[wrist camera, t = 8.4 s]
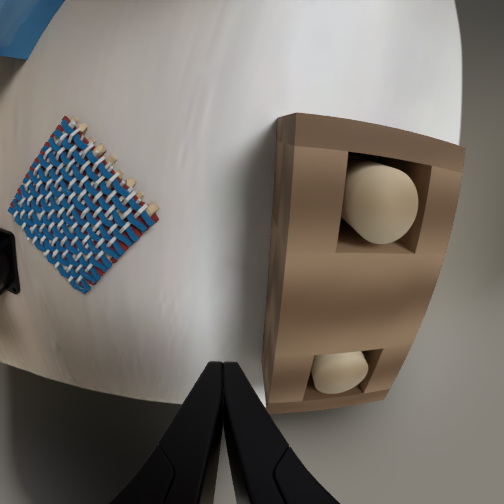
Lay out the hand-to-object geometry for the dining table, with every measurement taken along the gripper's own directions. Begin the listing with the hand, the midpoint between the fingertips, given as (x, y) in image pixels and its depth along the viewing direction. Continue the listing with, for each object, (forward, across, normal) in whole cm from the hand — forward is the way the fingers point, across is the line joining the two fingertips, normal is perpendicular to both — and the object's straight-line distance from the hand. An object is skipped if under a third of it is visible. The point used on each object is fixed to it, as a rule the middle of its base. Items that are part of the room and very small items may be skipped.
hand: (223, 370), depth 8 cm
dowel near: (+12, -8, -4) cm, 15 cm away
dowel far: (+12, -8, +8) cm, 17 cm away
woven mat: (+14, +12, -1) cm, 18 cm away
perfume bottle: (+13, +18, -18) cm, 29 cm away
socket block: (+12, -8, +2) cm, 15 cm away
